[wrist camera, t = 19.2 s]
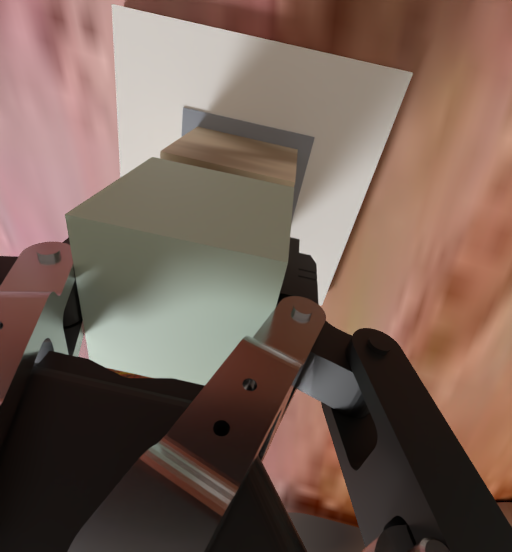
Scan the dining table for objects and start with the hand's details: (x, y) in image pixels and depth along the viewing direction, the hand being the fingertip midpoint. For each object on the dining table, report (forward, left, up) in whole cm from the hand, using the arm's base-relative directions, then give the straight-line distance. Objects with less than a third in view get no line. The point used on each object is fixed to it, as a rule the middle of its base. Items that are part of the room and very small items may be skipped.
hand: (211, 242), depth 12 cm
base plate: (0, 0, -7) cm, 7 cm away
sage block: (0, 0, -1) cm, 1 cm away
